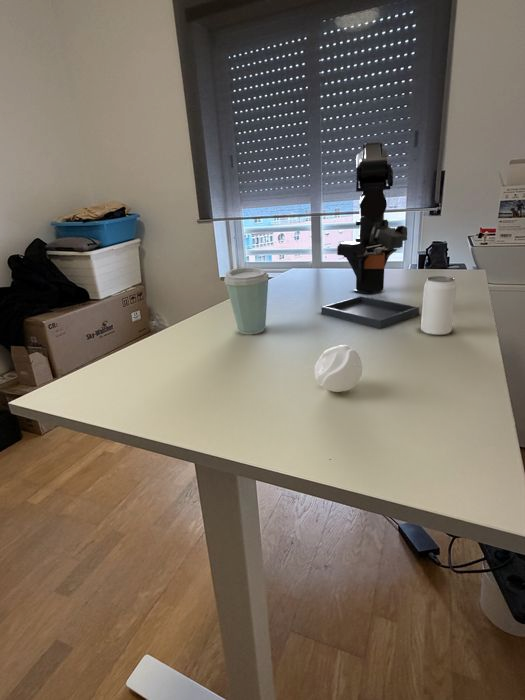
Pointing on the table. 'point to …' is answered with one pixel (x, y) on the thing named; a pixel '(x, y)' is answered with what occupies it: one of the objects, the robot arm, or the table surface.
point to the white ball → (338, 368)
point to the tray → (370, 311)
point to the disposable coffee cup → (248, 298)
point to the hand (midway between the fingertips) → (369, 279)
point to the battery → (373, 272)
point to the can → (438, 305)
